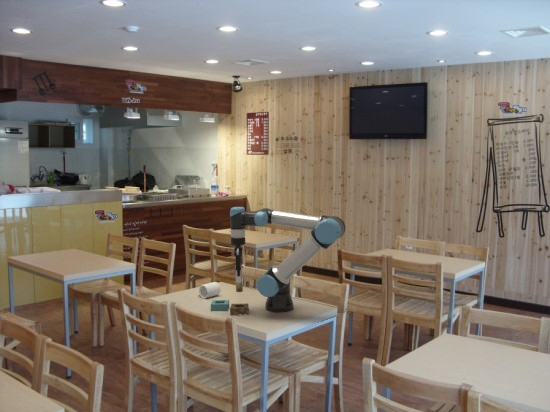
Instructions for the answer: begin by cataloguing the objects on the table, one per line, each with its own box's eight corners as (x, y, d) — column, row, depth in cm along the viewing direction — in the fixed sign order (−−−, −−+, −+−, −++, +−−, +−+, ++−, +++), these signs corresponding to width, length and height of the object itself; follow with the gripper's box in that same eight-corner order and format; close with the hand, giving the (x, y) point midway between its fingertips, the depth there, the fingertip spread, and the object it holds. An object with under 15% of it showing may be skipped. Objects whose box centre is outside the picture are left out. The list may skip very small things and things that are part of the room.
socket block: (229, 306, 315) (229, 299, 314) (227, 310, 306) (227, 304, 305) (212, 306, 315) (212, 300, 314) (210, 310, 306) (210, 304, 305)
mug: (220, 296, 337) (220, 282, 336) (207, 299, 329) (207, 285, 329) (207, 292, 345) (207, 279, 344) (194, 296, 338) (194, 282, 337)
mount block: (248, 309, 307) (248, 303, 306) (247, 314, 298) (247, 308, 297) (231, 310, 307) (231, 303, 306) (230, 314, 298) (230, 308, 297)
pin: (243, 290, 303) (242, 264, 301) (242, 292, 299) (242, 265, 298) (236, 290, 303) (235, 264, 301) (235, 292, 299) (235, 265, 298)
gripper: (232, 234, 307) (233, 277, 309) (229, 239, 290) (230, 285, 292) (246, 234, 306) (247, 277, 309) (244, 239, 290) (245, 284, 292)
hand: (239, 281), depth 300 cm, fingers closed on pin, 3 cm apart
